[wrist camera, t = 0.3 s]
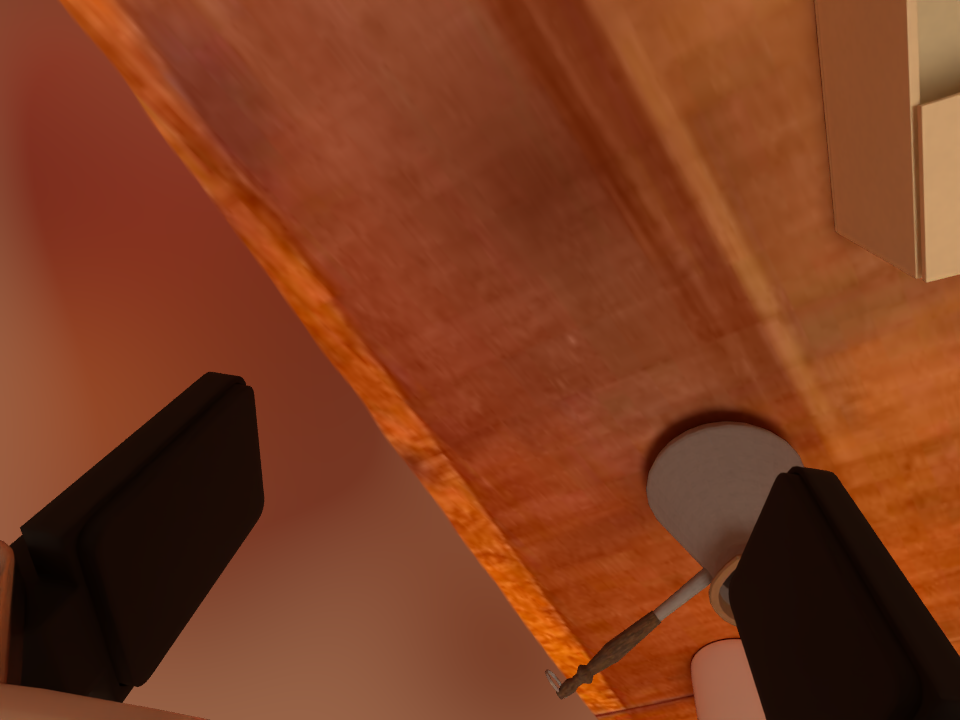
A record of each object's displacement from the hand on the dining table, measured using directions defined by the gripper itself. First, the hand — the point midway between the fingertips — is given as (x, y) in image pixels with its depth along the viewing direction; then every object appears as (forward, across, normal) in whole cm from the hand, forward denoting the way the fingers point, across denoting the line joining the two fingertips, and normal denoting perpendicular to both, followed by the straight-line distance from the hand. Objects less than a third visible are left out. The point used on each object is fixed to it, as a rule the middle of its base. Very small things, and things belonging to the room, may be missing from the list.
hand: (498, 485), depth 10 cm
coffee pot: (+31, -13, +23) cm, 41 cm away
